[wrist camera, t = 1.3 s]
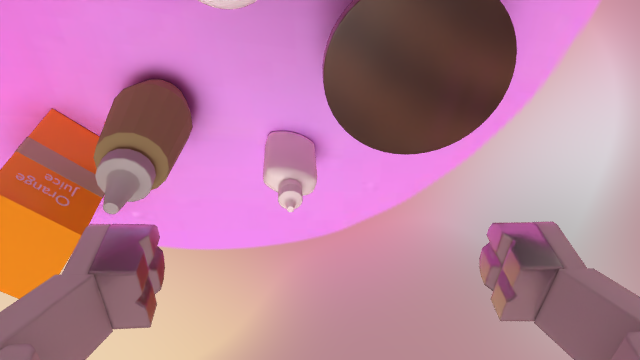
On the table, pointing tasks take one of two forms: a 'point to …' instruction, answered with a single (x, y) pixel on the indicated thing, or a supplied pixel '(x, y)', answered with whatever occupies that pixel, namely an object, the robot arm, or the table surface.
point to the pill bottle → (228, 3)
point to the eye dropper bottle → (289, 167)
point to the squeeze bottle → (140, 141)
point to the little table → (418, 70)
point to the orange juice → (45, 202)
